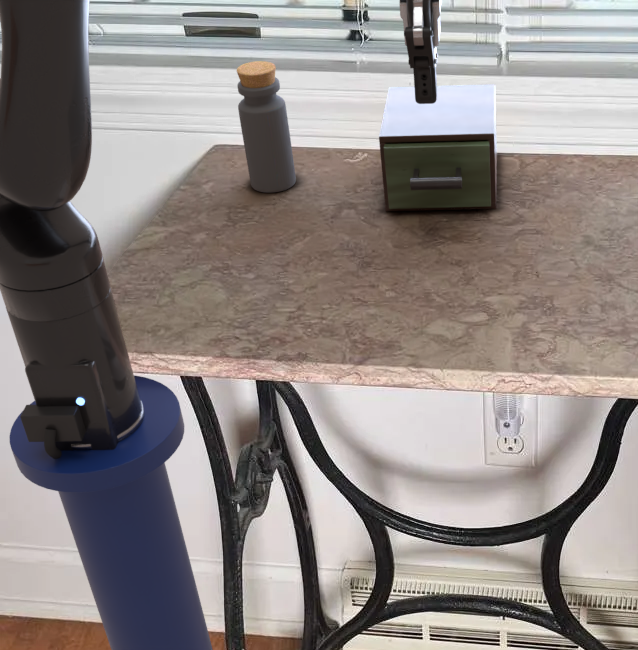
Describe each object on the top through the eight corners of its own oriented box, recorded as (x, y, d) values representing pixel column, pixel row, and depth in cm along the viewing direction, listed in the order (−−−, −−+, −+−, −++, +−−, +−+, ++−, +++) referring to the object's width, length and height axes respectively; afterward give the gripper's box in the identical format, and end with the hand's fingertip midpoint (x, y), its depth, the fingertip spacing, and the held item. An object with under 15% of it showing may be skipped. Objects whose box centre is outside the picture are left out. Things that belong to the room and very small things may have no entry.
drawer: (490, 223, 140) (488, 160, 135) (386, 225, 141) (380, 163, 136) (492, 156, 155) (490, 97, 150) (397, 158, 155) (392, 100, 150)
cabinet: (496, 208, 145) (494, 133, 139) (385, 211, 146) (378, 136, 139) (496, 155, 157) (495, 83, 151) (394, 157, 158) (388, 86, 152)
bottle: (282, 169, 156) (265, 55, 147) (304, 184, 152) (288, 68, 143) (242, 182, 154) (223, 67, 144) (264, 197, 150) (245, 80, 140)
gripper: (382, -95, 117) (395, 78, 128) (370, -58, 107) (385, 127, 118) (458, -97, 117) (464, 77, 128) (453, -61, 107) (460, 125, 118)
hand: (426, 101), depth 123 cm, fingers closed
